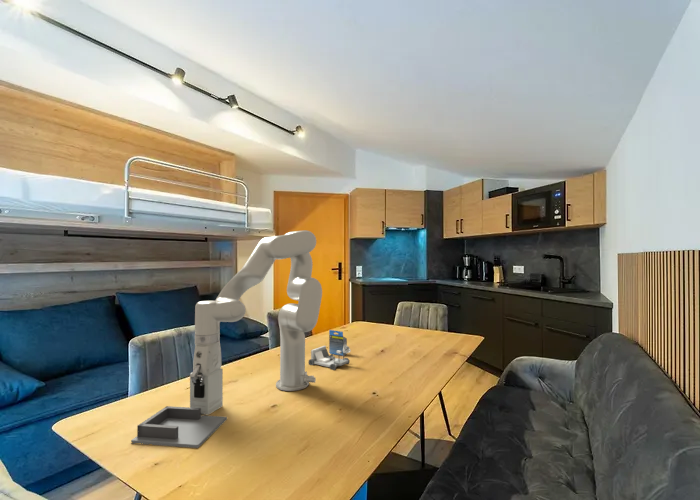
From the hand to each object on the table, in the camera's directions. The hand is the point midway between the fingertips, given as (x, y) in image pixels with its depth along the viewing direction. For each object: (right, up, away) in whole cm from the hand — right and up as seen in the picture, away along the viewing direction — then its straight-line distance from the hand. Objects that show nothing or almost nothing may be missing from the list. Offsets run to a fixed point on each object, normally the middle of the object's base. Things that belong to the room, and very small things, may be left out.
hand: (206, 391), depth 113 cm
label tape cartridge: (+41, -7, +65) cm, 77 cm away
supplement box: (0, -6, 0) cm, 6 cm away
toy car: (+38, -7, +47) cm, 61 cm away
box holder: (-1, -5, -14) cm, 15 cm away
